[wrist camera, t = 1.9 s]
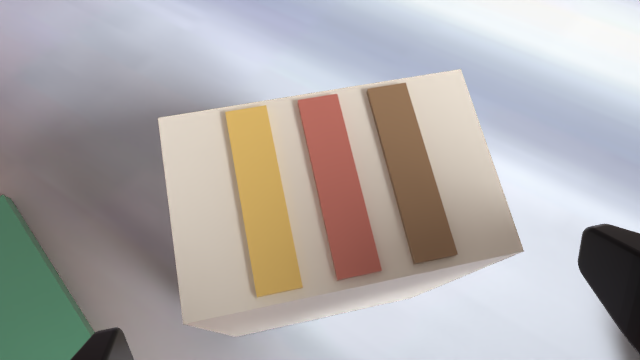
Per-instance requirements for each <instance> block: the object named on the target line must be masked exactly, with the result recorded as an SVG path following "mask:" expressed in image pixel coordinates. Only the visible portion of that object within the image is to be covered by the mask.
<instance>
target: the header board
mask: <svg viewBox="0 0 640 360" xmlns="http://www.w3.org/2000/svg"><path fill="white" fill-rule="evenodd" d="M94 333H95V332H94V331H93V329H92V328H91V326H90V324H89V323H88V321H87V320H86V318H85V316H84V315H83V313H82V312H81V310H80V308H79V307H78V305H77V304H76V302H75V300H74V299H73V297H72V296H71V294H70V293H69V291H68V289H67V288H66V286H65V285H64V283H63V281H62V280H61V278H60V277H59V275H58V273H57V272H56V270H55V269H54V267H53V265H52V264H51V262H50V261H49V259H48V257H47V256H46V254H45V253H44V251H43V249H42V248H41V246H40V245H39V243H38V241H37V240H36V238H35V237H34V235H33V233H32V232H31V230H30V229H29V227H28V225H27V224H26V222H25V221H24V219H23V218H22V216H21V214H20V213H19V211H18V210H17V208H16V206H15V205H14V203H13V202H12V200H11V199H10V198H8V197H6V196H4V195H1V196H0V360H70V359H71V358H72V357H73V356H74V355H75V354H76V353H77V351H78V350H79V349H80V348H81V347H82V346H83V345H84V344H85V343H86V341H87V340H88V339H89V338H90V337H91V336H92V335H93V334H94Z"/></svg>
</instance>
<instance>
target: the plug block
mask: <svg viewBox="0 0 640 360" xmlns="http://www.w3.org/2000/svg"><path fill="white" fill-rule="evenodd" d="M158 123H159V132H160V140H161V148H162V156H163V164H164V172H165V180H166V188H167V197H168V205H169V213H170V221H171V229H172V237H173V245H174V253H175V261H176V270H177V278H178V286H179V294H180V302H181V310H182V318H183V324H184V325H189V326H193V327H197V328H201V329H205V330H209V331H213V332H217V333H221V334H225V335H230V336H234V337H238V336H242V335H247V334H251V333H256V332H260V331H265V330H270V329H274V328H279V327H283V326H288V325H292V324H297V323H301V322H306V321H310V320H315V319H319V318H324V317H329V316H333V315H338V314H342V313H347V312H351V311H356V310H360V309H365V308H369V307H374V306H378V305H383V304H387V303H392V302H397V301H401V300H406V299H410V298H413V297H415V296H417V295H420V294H422V293H425V292H427V291H430V290H432V289H434V288H437V287H439V286H442V285H444V284H446V283H449V282H451V281H454V280H456V279H458V278H461V277H463V276H466V275H468V274H470V273H473V272H475V271H478V270H480V269H482V268H485V267H487V266H490V265H492V264H494V263H497V262H499V261H502V260H504V259H506V258H509V257H511V256H514V255H516V254H518V253H521V252H523V251H524V250H523V247H522V244H521V242H520V239H519V236H518V233H517V230H516V227H515V224H514V221H513V218H512V216H511V213H510V210H509V207H508V204H507V201H506V198H505V195H504V193H503V190H502V187H501V184H500V181H499V178H498V175H497V172H496V169H495V167H494V164H493V161H492V158H491V155H490V152H489V149H488V146H487V143H486V141H485V138H484V135H483V132H482V129H481V126H480V123H479V120H478V118H477V115H476V112H475V109H474V106H473V103H472V100H471V97H470V94H469V92H468V89H467V86H466V83H465V80H464V77H463V74H462V71H461V69H459V70H452V71H446V72H440V73H434V74H427V75H421V76H415V77H409V78H403V79H396V80H390V81H384V82H378V83H372V84H365V85H359V86H353V87H347V88H340V89H334V90H328V91H322V92H316V93H309V94H303V95H297V96H291V97H284V98H278V99H272V100H266V101H260V102H253V103H247V104H241V105H235V106H228V107H222V108H216V109H210V110H204V111H197V112H191V113H185V114H179V115H172V116H166V117H160V118H158Z"/></svg>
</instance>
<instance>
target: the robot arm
mask: <svg viewBox="0 0 640 360" xmlns="http://www.w3.org/2000/svg"><path fill="white" fill-rule="evenodd" d="M578 266H579V269H580V272H581V273H582V275H583V277H584V278H585V279H586V281H587V282H588V284H589V285H590V287H591V288H592V290H593V291H594V293H595V294H596V295H597V297H598V298H599V300H600V301H601V303H602V304H603V306H604V307H605V309H606V310H607V312H608V313H609V314H610V316H611V317H612V319H613V320H614V322H615V323H616V325H617V326H618V327H619V329H620V330H621V332H622V333H623V334H624V336H625V337H626V338H627V340H628V341H629V342H630V343H631V345H632V346H633V347H634V348H635V349H636V351H637V352H638V353H639V354H640V234H639V233H636V232H633V231H629V230H626V229H623V228H619V227H616V226H613V225H609V224H600V225H595V226H591V227H588V228H586V229H585V230H584V231H583V234H582V239H581V245H580V251H579V257H578ZM70 360H134V359H133V356H132V354H131V351H130V349H129V346H128V343H127V341H126V338H125V336H124V333H123V331H122V330H121V329H120V328H117V327H115V328H111V329H106V330H101V331H98V332H95V333H94V334H93V335H92V336H91V337H90V338H89V339H88V340H87V341H86V343H85V344H84V345H83V346H82V347H81V348H80V349H79V350H78V351H77V353H76V354H75V355H74V356H73V357H72V358H71V359H70Z"/></svg>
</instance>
